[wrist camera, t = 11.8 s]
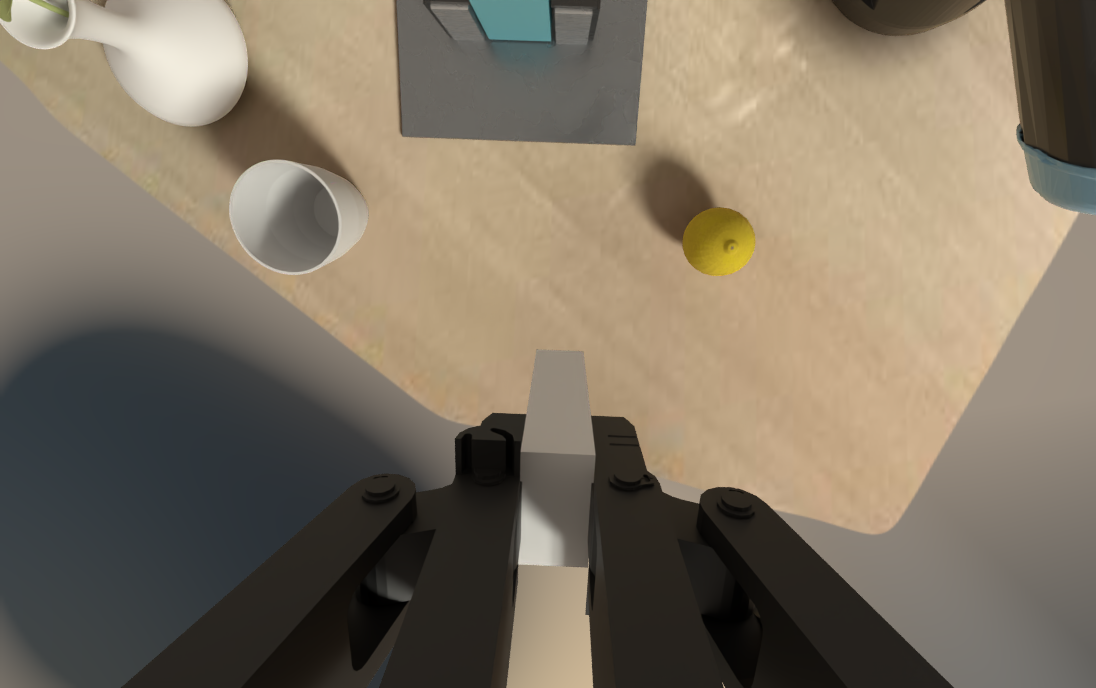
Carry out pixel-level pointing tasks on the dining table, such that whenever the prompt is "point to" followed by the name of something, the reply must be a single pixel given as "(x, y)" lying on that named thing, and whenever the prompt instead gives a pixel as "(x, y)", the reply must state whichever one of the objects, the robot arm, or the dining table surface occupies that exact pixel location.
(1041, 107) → the robot arm
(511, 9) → the teal post
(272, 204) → the cup
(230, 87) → the flower in vase
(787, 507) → the dining table surface
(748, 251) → the lemon
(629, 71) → the steel clamp
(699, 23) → the dining table surface
